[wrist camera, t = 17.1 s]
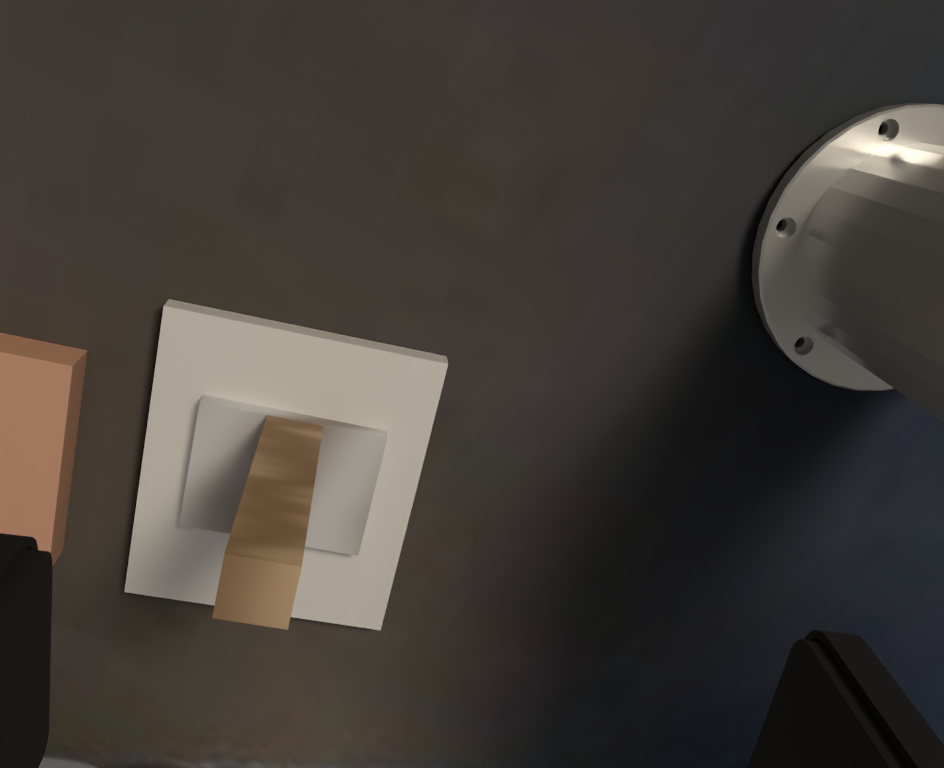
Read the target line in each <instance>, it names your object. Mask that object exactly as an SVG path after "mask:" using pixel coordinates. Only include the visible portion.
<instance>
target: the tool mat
mask: <svg viewBox="0 0 944 768" xmlns="http://www.w3.org/2000/svg"><path fill="white" fill-rule="evenodd" d="M447 367H448V361H447V356H442V355H438V354H433V353H428V352H423V351H418V350H413V349H408V348H404V347H399V346H394V345H389V344H384V343H379V342H375V341H370V340H365V339H360V338H355V337H350V336H345V335H341V334H336V333H331V332H326V331H321V330H316V329H311V328H307V327H302V326H297V325H292V324H287V323H282V322H278V321H273V320H268V319H263V318H258V317H253V316H248V315H244V314H239V313H234V312H229V311H224V310H219V309H214V308H210V307H205V306H200V305H195V304H190V303H185V302H181V301H176V300H171V299H169V300H168V301H167V302H166V303H165V305H164V307H163V314H162V321H161V329H160V336H159V343H158V350H157V358H156V365H155V372H154V380H153V387H152V394H151V401H150V409H149V416H148V423H147V431H146V438H145V445H144V452H143V460H142V467H141V474H140V481H139V489H138V496H137V503H136V511H135V518H134V525H133V532H132V540H131V547H130V554H129V562H128V569H127V576H126V583H125V591H124V592H127V593H134V594H141V595H147V596H154V597H161V598H167V599H174V600H181V601H187V602H194V603H201V604H207V605H214V606H215V600H216V595H217V590H218V584H219V579H220V574H221V569H222V563H223V558H224V553H225V550H226V547H227V544H228V540H229V537H230V534H228V533H222V532H216V531H211V530H205V529H199V528H193V527H187V526H182V525H179V522H180V516H181V510H182V504H183V498H184V492H185V487H186V481H187V475H188V469H189V463H190V457H191V451H192V445H193V439H194V433H195V427H196V421H197V415H198V409H199V403H200V400H201V398H202V396H203V395H208V396H213V397H218V398H223V399H228V400H233V401H238V402H243V403H249V404H254V405H259V406H264V407H269V408H274V409H279V410H284V411H289V412H294V413H299V414H304V415H309V416H314V417H319V418H324V419H329V420H334V421H339V422H344V423H349V424H354V425H359V426H365V427H370V428H375V429H380V430H385V431H387V442H386V446H385V450H384V454H383V458H382V462H381V466H380V470H379V474H378V478H377V482H376V487H375V491H374V495H373V499H372V503H371V507H370V511H369V515H368V519H367V523H366V527H365V531H364V535H363V539H362V543H361V547H360V551H359V555H358V556H356V555H350V554H344V553H338V552H333V551H327V550H321V549H315V548H309V547H305V549H304V556H303V562H302V568H301V573H300V577H299V582H298V586H297V590H296V595H295V599H294V604H293V608H292V613H291V617H294V618H301V619H308V620H314V621H321V622H328V623H334V624H341V625H348V626H354V627H361V628H368V629H375V630H381V627H382V623H383V619H384V615H385V611H386V607H387V603H388V599H389V595H390V591H391V587H392V583H393V579H394V575H395V571H396V567H397V564H398V560H399V556H400V552H401V548H402V544H403V540H404V536H405V532H406V528H407V524H408V520H409V516H410V512H411V508H412V505H413V501H414V497H415V493H416V489H417V485H418V481H419V477H420V473H421V469H422V465H423V461H424V457H425V453H426V449H427V445H428V442H429V438H430V434H431V430H432V426H433V422H434V418H435V414H436V410H437V406H438V402H439V398H440V394H441V390H442V386H443V383H444V379H445V375H446V371H447Z"/></svg>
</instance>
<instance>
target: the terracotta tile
mask: <svg viewBox="0 0 944 768" xmlns="http://www.w3.org/2000/svg"><path fill="white" fill-rule="evenodd" d="M86 357H87V350H82V349H77V348H72V347H67V346H63V345H58V344H53V343H48V342H43V341H38V340H33V339H28V338H23V337H18V336H14V335H9V334H4V333H0V533H3V534H12V535H20V536H29V537H33V538H35V539H36V542H37V545H38V550H41V551H49V552H50V553H51V556H52V567H53V565H54V564H55V562H56V561H57V559H58V557H59V556H60V554H61V553H62V551H63V545H64V536H65V528H66V520H67V512H68V504H69V496H70V488H71V479H72V471H73V463H74V455H75V447H76V439H77V431H78V422H79V414H80V406H81V398H82V390H83V382H84V374H85V365H86Z"/></svg>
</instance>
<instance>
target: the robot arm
mask: <svg viewBox="0 0 944 768" xmlns="http://www.w3.org/2000/svg"><path fill="white" fill-rule="evenodd" d="M881 124H882V130H881V132H880V133H878V131H879V127H880V125H881ZM780 220H782V221H783V223H782V226H781V228H779V229H776V227H777V224H778V223H779V221H780ZM752 286H753V291H754V297H755V303H756V307H757V310H758V312H759V315H760V317H761V320H762V322H763V325H764V327H765V329H766V331H767V332H768V334H769V335H770V337H771V338H772V340H773V341H774V343H775V344H776V346H777V347H778V348H779V349H780V350H781V351H782V352H783V353H784V354H785V355H786V356H787V357H788V358H789V359H791V360H792V361H793V362H794V363H795V364H796V365H798V366H799V367H801V368H802V369H803V370H805V371H806V372H808V373H809V374H810V375H812V376H814V377H816V378H818V379H820V380H822V381H825V382H827V383H829V384H831V385H834V386H838V387H843V388H847V389H852V390H857V391H885V390H891V389H896V390H897V391H899V392H900V393H902V394H903V395H905V396H906V397H908V398H909V399H910V400H912V401H913V402H915V403H916V404H918V405H919V406H921V407H922V408H924V409H925V410H927V411H928V412H929V413H931V414H932V415H934V416H935V417H937V418H938V419H940V420H941V421H943V422H944V105H939V104H926V103H905V104H898V105H892V106H885V107H881V108H878V109H875V110H872V111H870V112H867V113H864V114H861V115H858V116H855V117H853V118H852V119H850V120H848V121H846V122H845V123H843V124H841V125H839V126H838V127H836V128H834V129H832V130H831V131H829V132H828V133H826V134H825V135H824V136H823V137H822V138H820V139H819V140H818V141H817V142H815V143H814V144H813V145H812V146H811V147H809V148H808V149H807V150H806V151H805V152H804V153H803V154H802V155H801V156H800V157H799V159H798V160H797V161H796V162H795V163H794V164H793V165H792V167H791V168H790V169H789V170H788V171H787V172H786V173H785V175H784V177H783V178H782V180H781V181H780V183H779V185H778V186H777V188H776V189H775V191H774V193H773V194H772V196H771V198H770V199H769V201H768V204H767V206H766V209H765V211H764V214H763V216H762V219H761V221H760V224H759V226H758V230H757V235H756V240H755V244H754V249H753V253H752ZM799 338H800V340H799V342H798V343H797V344H795V343H796V341H797V340H798V339H799ZM51 608H52V556H51V553H50V552H49V551H41V550H38V545H37V542H36V539H35V538H33V537H29V536H20V535H12V534H3V533H0V768H38V767H39V765H40V763H41V761H42V758H43V755H44V752H45V749H46V745H47V740H48V733H49V699H50V653H51ZM748 768H944V745H943V744H942V742H941V741H940V740H939V738H938V737H937V736H936V734H935V733H934V732H933V730H932V729H931V728H930V726H929V725H928V724H927V723H926V721H925V720H924V719H923V717H922V716H921V715H920V713H919V712H918V711H917V709H916V708H915V707H914V705H913V704H912V703H911V701H910V700H909V699H908V697H907V696H906V695H905V694H904V692H903V691H902V690H901V688H900V687H899V686H898V684H897V683H896V682H895V680H894V679H893V678H892V676H891V675H890V674H889V672H888V671H887V670H886V669H885V667H884V666H883V665H882V663H881V662H880V661H879V659H878V658H877V657H876V655H875V654H874V653H873V651H872V650H871V649H870V647H869V646H868V645H867V643H866V642H865V641H864V640H863V639H862V638H861V637H860V636H857V635H854V634H846V633H838V632H829V631H821V630H814V631H811V632H810V633H809V634H808V635H807V636H806V638H805V640H798V641H796V642H795V643H794V645H793V647H792V649H791V651H790V654H789V657H788V660H787V662H786V665H785V668H784V670H783V673H782V676H781V679H780V681H779V684H778V687H777V690H776V692H775V695H774V698H773V700H772V703H771V706H770V709H769V711H768V714H767V717H766V719H765V722H764V725H763V728H762V730H761V733H760V736H759V739H758V741H757V744H756V747H755V749H754V752H753V755H752V758H751V760H750V763H749V766H748Z"/></svg>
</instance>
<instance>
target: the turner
mask: <svg viewBox="0 0 944 768" xmlns="http://www.w3.org/2000/svg"><path fill="white" fill-rule="evenodd" d="M386 442H387V431H385V430H380V429H375V428H370V427H365V426H359V425H354V424H349V423H344V422H339V421H334V420H329V419H324V418H319V417H314V416H309V415H304V414H299V413H294V412H289V411H284V410H279V409H274V408H269V407H264V406H259V405H254V404H249V403H243V402H238V401H233V400H228V399H223V398H218V397H213V396H208V395H203V396H202V398H201V400H200V403H199V409H198V415H197V421H196V427H195V433H194V439H193V445H192V451H191V457H190V463H189V469H188V475H187V481H186V487H185V492H184V498H183V504H182V510H181V516H180V522H179V525H182V526H187V527H193V528H199V529H205V530H211V531H216V532H222V533H228V534H230V537H229V540H228V544H227V547H226V550H225V553H224V558H223V563H222V569H221V574H220V579H219V584H218V590H217V595H216V600H215V606H214V611H213V616H212V618H215V619H222V620H228V621H235V622H241V623H247V624H254V625H260V626H267V627H273V628H280V629H286V630H288V626H289V622H290V617H291V613H292V608H293V604H294V599H295V595H296V590H297V586H298V582H299V577H300V573H301V568H302V562H303V556H304V549H305V547H309V548H315V549H321V550H327V551H333V552H338V553H344V554H350V555H356V556H358V555H359V551H360V547H361V543H362V539H363V535H364V531H365V527H366V523H367V519H368V515H369V511H370V507H371V503H372V499H373V495H374V491H375V487H376V482H377V478H378V474H379V470H380V466H381V462H382V458H383V454H384V450H385V446H386Z"/></svg>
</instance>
